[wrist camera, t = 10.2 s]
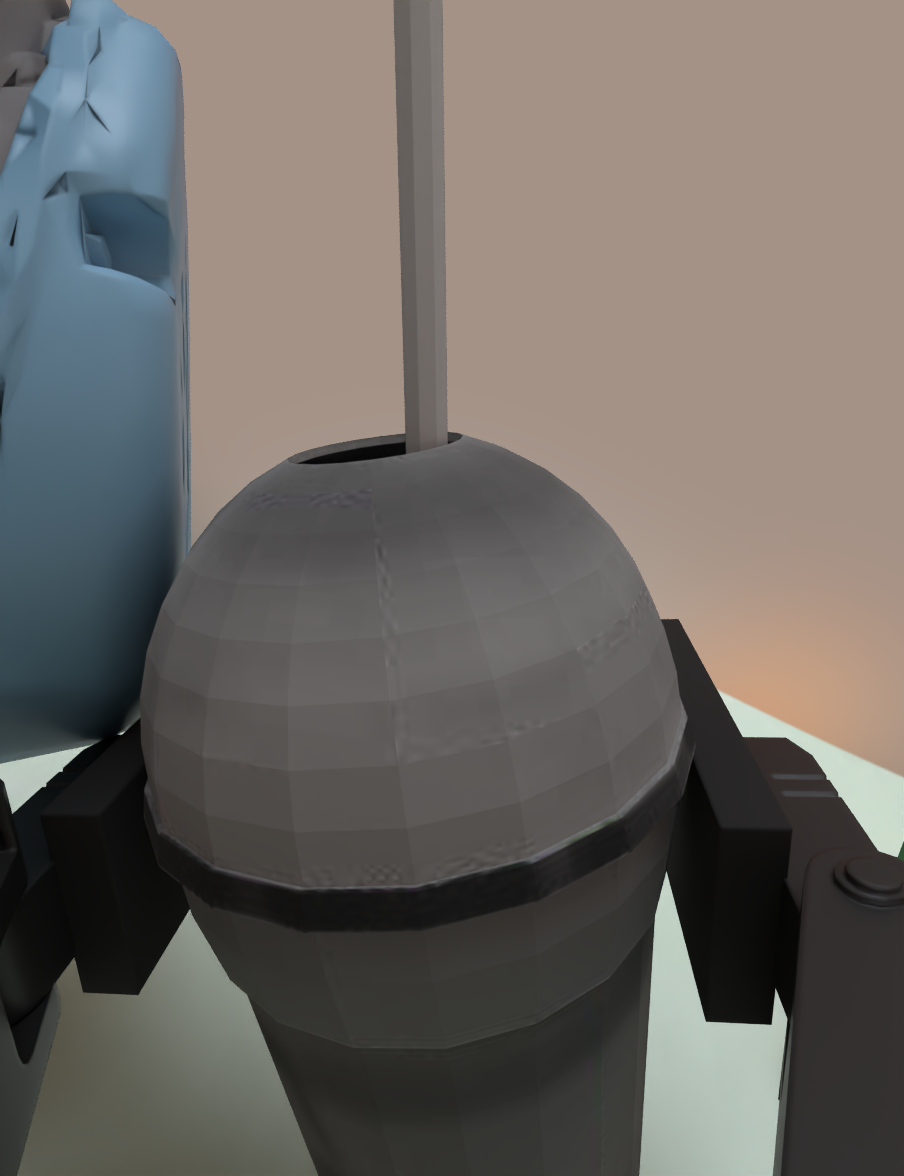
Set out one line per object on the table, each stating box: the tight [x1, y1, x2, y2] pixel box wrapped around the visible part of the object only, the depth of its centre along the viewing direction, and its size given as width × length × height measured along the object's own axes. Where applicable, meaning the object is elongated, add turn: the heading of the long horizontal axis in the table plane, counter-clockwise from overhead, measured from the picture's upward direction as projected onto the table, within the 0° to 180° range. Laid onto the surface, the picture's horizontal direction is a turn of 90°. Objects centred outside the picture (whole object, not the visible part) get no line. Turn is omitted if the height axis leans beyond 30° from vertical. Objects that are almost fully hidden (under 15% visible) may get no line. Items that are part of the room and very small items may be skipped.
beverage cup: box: [140, 0, 696, 1176], centre depth 11 cm, size 7×7×20 cm
